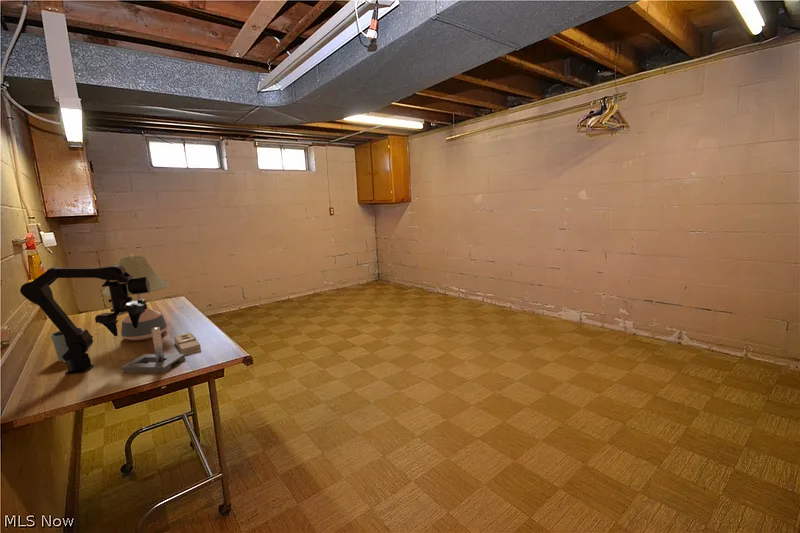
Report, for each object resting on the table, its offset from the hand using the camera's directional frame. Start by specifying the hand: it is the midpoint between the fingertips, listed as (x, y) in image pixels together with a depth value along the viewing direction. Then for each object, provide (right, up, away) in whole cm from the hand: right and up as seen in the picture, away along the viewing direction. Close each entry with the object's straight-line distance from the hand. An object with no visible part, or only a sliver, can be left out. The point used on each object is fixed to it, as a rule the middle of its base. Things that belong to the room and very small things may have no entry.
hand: (126, 331), depth 147 cm
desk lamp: (-15, -8, +32) cm, 36 cm away
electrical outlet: (+16, -10, +16) cm, 25 cm away
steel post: (+17, -13, -3) cm, 21 cm away
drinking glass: (-30, -13, +8) cm, 34 cm away
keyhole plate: (+14, -13, -3) cm, 19 cm away
